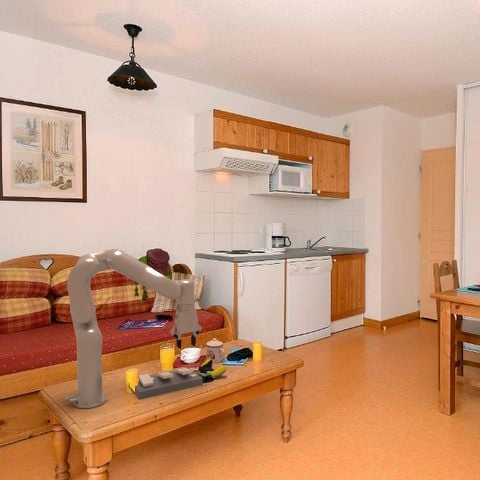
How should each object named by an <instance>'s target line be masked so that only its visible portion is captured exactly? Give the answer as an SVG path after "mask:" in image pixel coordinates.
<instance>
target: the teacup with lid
mask: <svg viewBox="0 0 480 480" xmlns="http://www.w3.org/2000/svg"><path fill="white" fill-rule="evenodd" d="M205 346H206V360H208V359H211V360H212V361H213V364H215V363H216V364H217V363H220V362H223V361H224V358H225V354H226V353H225V350H224V348H223V347H224V343H223V342H222V341H220V340H217V337H214V338H212V340H209V341H207V342H206V344H205Z"/></svg>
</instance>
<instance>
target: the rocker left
mask: <svg viewBox="0 0 480 480" xmlns="http://www.w3.org/2000/svg"><path fill="white" fill-rule="evenodd" d="M137 373H138V376H137V378H139V380H140V382H141V383H142V385H143V387H145V386H150V385H154V382H153V380H152V379H151V377H150V376H149V375H150V374H149V372H148V371H147V370H144V371H138V372H137Z"/></svg>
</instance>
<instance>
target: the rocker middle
mask: <svg viewBox="0 0 480 480" xmlns="http://www.w3.org/2000/svg"><path fill="white" fill-rule="evenodd" d="M155 374H156V375H157V376H159V377H161V378H163V379H165V378H170V377H173V374H172V373H169V372H168V371H167V370H162V371H157V372H155Z"/></svg>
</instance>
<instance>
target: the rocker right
mask: <svg viewBox="0 0 480 480" xmlns="http://www.w3.org/2000/svg"><path fill="white" fill-rule="evenodd" d="M187 368H188V367H185V366H182V367H177V368H176V367H175V368H174V370H175V372H177V373H180V374H182V375H185V374H189V373H192V371H193V369H191V368H190V369H191V370H190V369H187Z"/></svg>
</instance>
